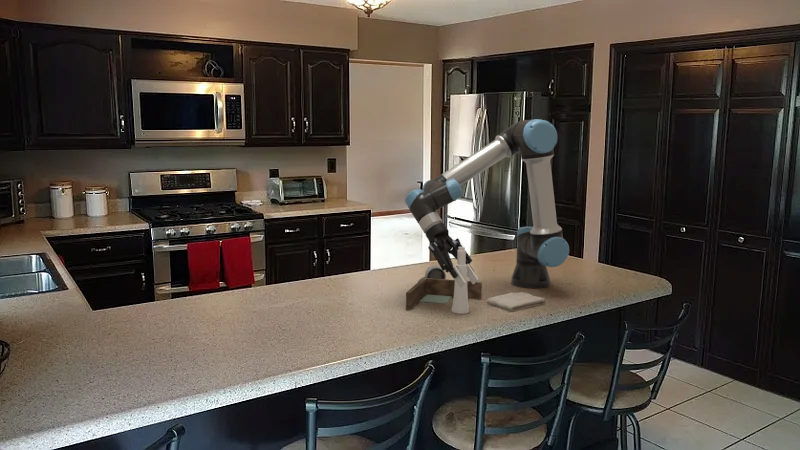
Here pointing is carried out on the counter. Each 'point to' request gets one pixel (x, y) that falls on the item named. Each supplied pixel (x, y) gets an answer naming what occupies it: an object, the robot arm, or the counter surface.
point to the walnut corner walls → (438, 290)
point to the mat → (435, 299)
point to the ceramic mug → (434, 273)
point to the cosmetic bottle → (461, 293)
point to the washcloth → (515, 301)
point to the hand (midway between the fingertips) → (469, 283)
